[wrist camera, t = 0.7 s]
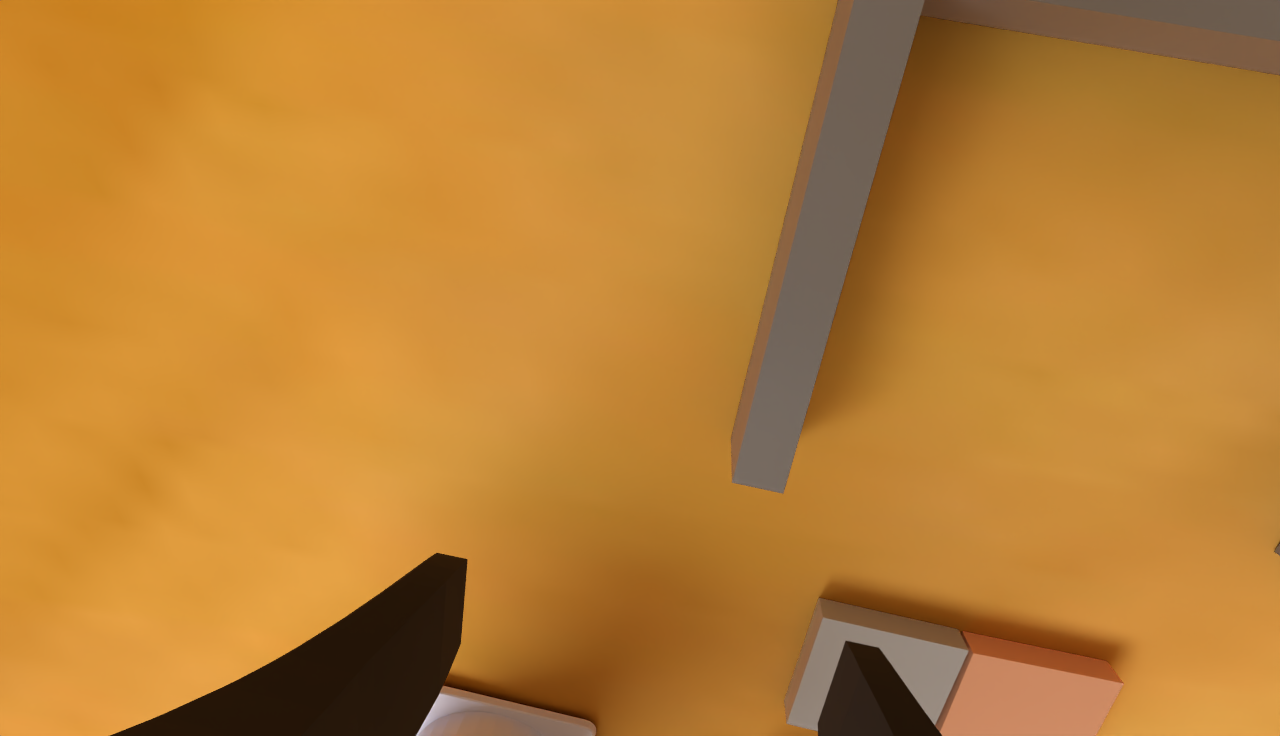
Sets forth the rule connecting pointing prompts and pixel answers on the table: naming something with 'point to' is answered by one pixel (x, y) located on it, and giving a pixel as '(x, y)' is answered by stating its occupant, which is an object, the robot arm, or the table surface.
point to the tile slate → (908, 644)
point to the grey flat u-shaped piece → (851, 147)
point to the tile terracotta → (1027, 691)
